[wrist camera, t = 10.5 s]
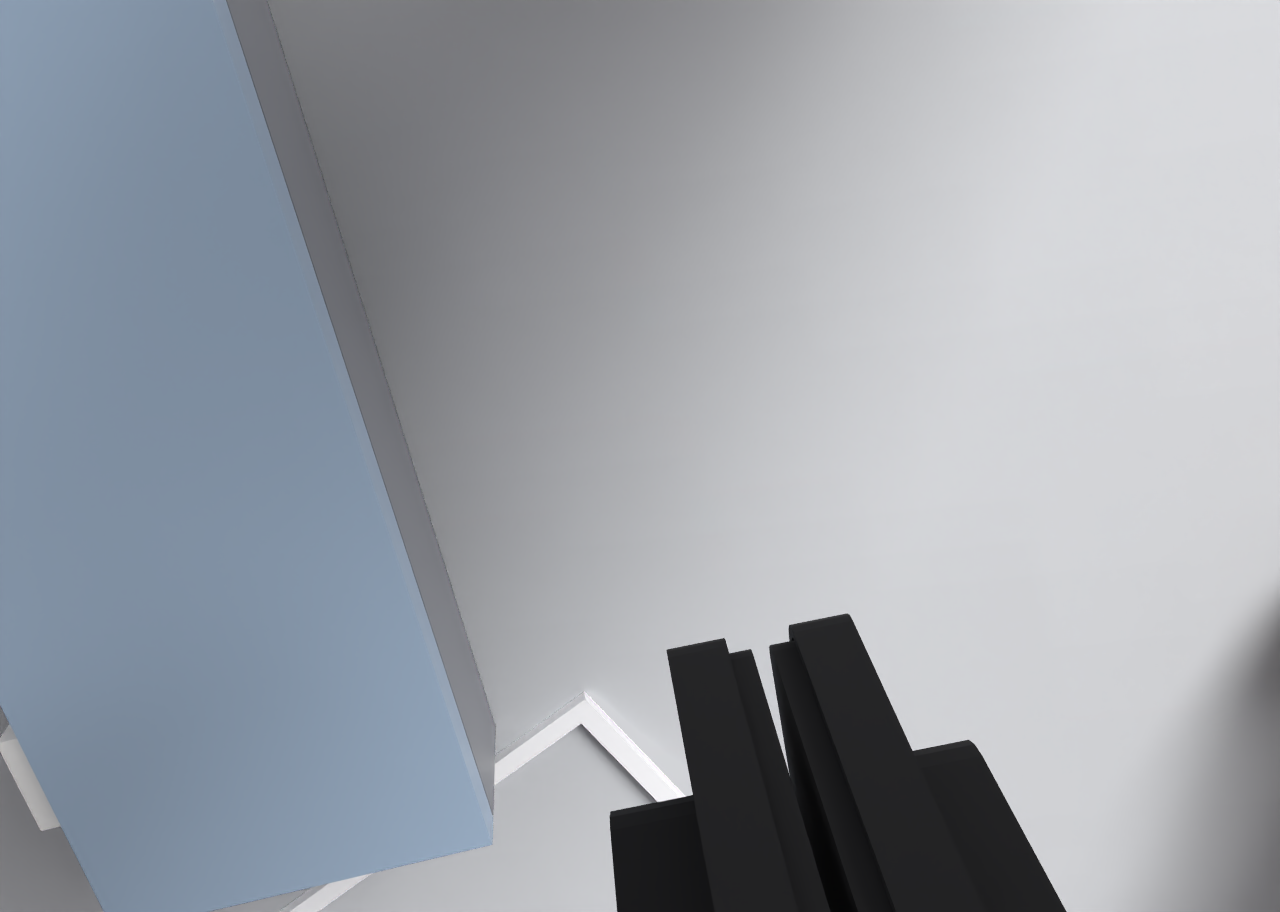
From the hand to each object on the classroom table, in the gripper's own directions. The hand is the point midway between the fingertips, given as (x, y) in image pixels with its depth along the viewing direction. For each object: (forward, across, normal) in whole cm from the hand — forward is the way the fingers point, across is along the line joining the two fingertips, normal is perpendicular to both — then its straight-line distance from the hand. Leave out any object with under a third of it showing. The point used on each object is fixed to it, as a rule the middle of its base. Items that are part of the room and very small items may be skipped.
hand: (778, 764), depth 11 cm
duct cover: (+21, +13, +3) cm, 25 cm away
